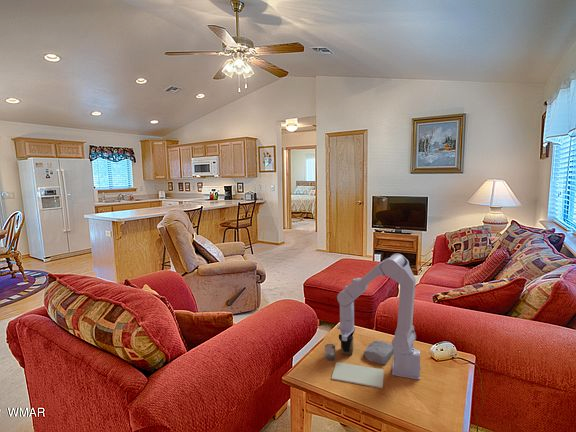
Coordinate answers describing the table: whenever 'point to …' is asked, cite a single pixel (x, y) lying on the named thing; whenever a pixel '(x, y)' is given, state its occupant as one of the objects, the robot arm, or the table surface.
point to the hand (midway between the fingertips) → (347, 348)
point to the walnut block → (349, 349)
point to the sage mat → (358, 375)
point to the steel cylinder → (330, 352)
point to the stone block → (379, 352)
